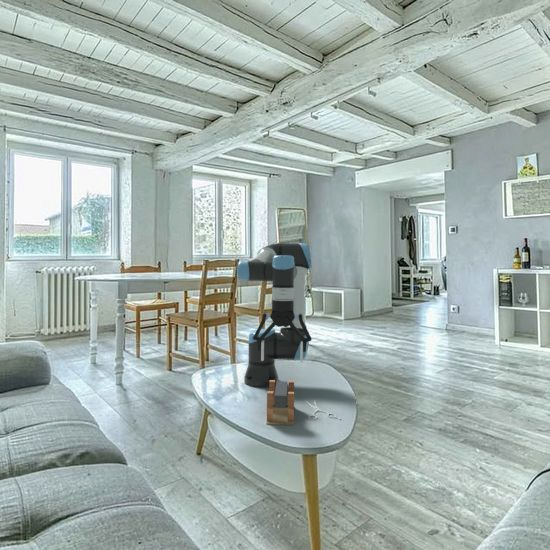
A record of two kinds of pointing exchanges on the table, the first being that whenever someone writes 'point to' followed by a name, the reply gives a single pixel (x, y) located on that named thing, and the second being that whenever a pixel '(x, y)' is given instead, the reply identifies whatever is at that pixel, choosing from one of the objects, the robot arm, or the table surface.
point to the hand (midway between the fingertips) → (281, 360)
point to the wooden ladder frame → (280, 414)
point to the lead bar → (280, 394)
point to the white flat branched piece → (320, 411)
